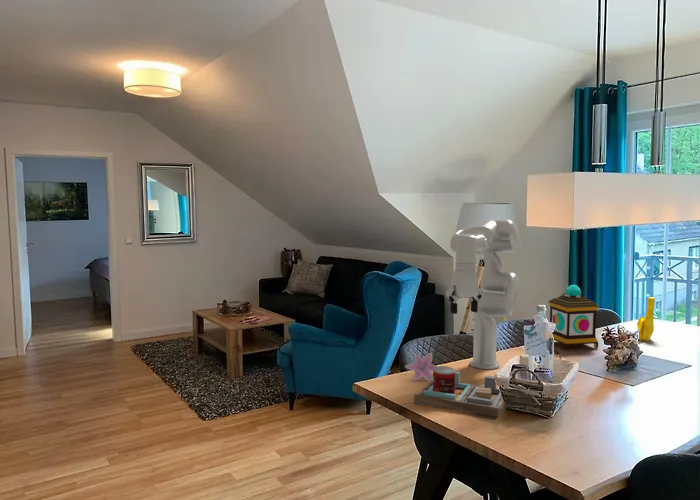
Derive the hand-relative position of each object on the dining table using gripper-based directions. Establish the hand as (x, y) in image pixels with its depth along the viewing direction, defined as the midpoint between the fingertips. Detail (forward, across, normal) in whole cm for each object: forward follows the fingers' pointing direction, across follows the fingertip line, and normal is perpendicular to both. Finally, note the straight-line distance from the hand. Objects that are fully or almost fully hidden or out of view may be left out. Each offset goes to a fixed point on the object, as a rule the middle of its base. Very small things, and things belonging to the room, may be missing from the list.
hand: (464, 312), depth 214 cm
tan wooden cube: (+29, +5, +18) cm, 35 cm away
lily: (+28, +8, -14) cm, 33 cm away
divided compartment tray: (+29, +9, +12) cm, 32 cm away
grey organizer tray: (+29, +3, +16) cm, 33 cm away
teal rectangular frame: (+29, +11, +6) cm, 31 cm away
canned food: (+29, +15, +8) cm, 34 cm away
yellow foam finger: (+23, -127, -13) cm, 130 cm away
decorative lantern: (+25, -86, -22) cm, 92 cm away
